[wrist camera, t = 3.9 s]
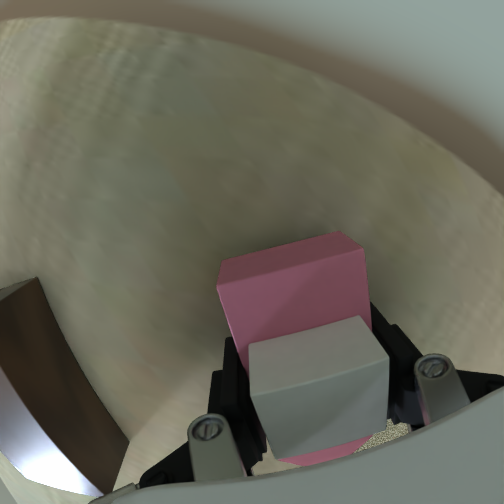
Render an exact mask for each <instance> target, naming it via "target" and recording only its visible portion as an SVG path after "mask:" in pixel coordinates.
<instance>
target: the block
mask: <svg viewBox="0 0 504 504" xmlns="http://www.w3.org/2000/svg"><path fill="white" fill-rule="evenodd" d="M128 445H129V441H128V439H127V438H126V437H125V435H124V434H123V433H122V431H121V430H120V429H119V427H118V426H117V425H116V423H115V422H114V420H113V419H112V418H111V416H110V415H109V413H108V412H107V410H106V409H105V407H104V406H103V404H102V403H101V401H100V400H99V398H98V397H97V395H96V394H95V392H94V390H93V389H92V387H91V386H90V384H89V382H88V381H87V379H86V377H85V376H84V374H83V372H82V370H81V369H80V367H79V365H78V363H77V362H76V360H75V358H74V356H73V354H72V352H71V351H70V349H69V347H68V345H67V343H66V341H65V339H64V337H63V335H62V333H61V331H60V329H59V327H58V325H57V323H56V320H55V318H54V316H53V314H52V312H51V310H50V307H49V305H48V303H47V300H46V298H45V296H44V293H43V291H42V288H41V286H40V283H39V281H38V278H37V277H35V278H32V279H29V280H26V281H23V282H20V283H17V284H15V285H12V286H9V287H6V288H3V289H0V451H1V452H2V453H3V454H4V456H5V457H6V458H7V459H8V460H9V461H10V462H11V463H12V464H13V465H14V466H15V467H16V468H17V469H18V470H19V471H20V472H21V473H22V474H23V475H24V476H25V477H26V478H27V479H30V480H33V481H36V482H39V483H42V484H45V485H49V486H52V487H56V488H60V489H63V490H67V491H71V492H76V493H80V494H85V495H90V496H95V497H101V496H103V495H106V494H108V493H110V492H112V491H113V488H114V485H115V482H116V479H117V476H118V473H119V471H120V468H121V465H122V462H123V459H124V456H125V453H126V451H127V448H128Z"/></svg>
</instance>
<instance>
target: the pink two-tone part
mask: <svg viewBox="0 0 504 504" xmlns="http://www.w3.org/2000/svg"><path fill="white" fill-rule="evenodd" d="M216 288H217V291H218V294H219V297H220V300H221V303H222V306H223V310H224V313H225V316H226V319H227V322H228V325H229V327H230V330H231V333H232V336H233V339H234V342H235V345H236V348H237V351H238V354H239V357H240V359H241V362H242V365H243V367H244V368H245V371H246V373H247V376H248V379H249V382H250V397H251V399H252V402H253V404H254V407H255V410H256V412H257V415H258V417H259V420H260V422H261V425H262V428H263V430H264V433H265V435H266V438H267V440H268V442H269V445H270V447H271V450H272V452H273V455H274V457H275V459H276V460H280V461H283V462H287V463H292V464H296V465H301V466H309V465H313V464H317V463H321V462H325V461H329V460H333V459H336V458H340V457H343V456H347V455H350V454H352V453H353V452H355V451H356V450H357V449H358V448H359V447H360V446H362V445H363V444H364V443H365V442H366V441H367V440H369V439H370V438H371V437H372V436H373V434H375V433H378V432H381V431H384V430H385V429H386V424H387V410H388V392H389V356H388V355H387V353H386V352H385V350H384V349H383V347H382V346H381V345H380V343H379V342H378V340H377V339H376V337H375V336H374V335H373V333H372V323H371V310H370V298H369V288H368V279H367V270H366V262H365V254H364V249H363V248H362V247H361V246H360V245H358V244H357V243H356V242H354V241H353V240H352V239H350V238H349V237H347V236H346V235H345V234H343V233H342V232H341V231H336V232H332V233H328V234H324V235H320V236H316V237H312V238H308V239H304V240H300V241H296V242H293V243H289V244H285V245H281V246H277V247H273V248H269V249H265V250H261V251H257V252H253V253H249V254H245V255H241V256H237V257H233V258H229V259H225V260H222V262H221V266H220V271H219V275H218V280H217V285H216Z"/></svg>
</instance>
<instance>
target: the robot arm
mask: <svg viewBox="0 0 504 504" xmlns="http://www.w3.org/2000/svg"><path fill="white" fill-rule="evenodd" d="M370 310H371V323H372V333H373V335H374V336H375V337H376V339H377V340H378V342H379V343H380V345H381V346H382V347H383V349H384V350H385V352H386V353H387V355H388V356H389V392H388V410H387V419H390V418H391V420H392V422H393V424H394V425H395V424H398V423H400V422H402V423H406V424H407V427H408V432H409V433H408V434H406V435H404V436H401V437H399V438H396V439H393V440H391V441H388V442H386V443H383V444H380V445H377V446H374V447H372V448H369V449H366V450H363V451H360V452H356V453H353V454H350V455H347V456H343V457H340V458H336V459H333V460H329V461H325V462H321V463H317V464H313V465H309V466H305V467H300V468H295V469H291V470H286V471H280V472H275V473H269V474H263V475H256V476H255V475H254V472H253V469H252V467H253V466H254V465H255V464H256V463H257V462H258V461H263V457H262V453H266V452H267V445H266V435H265V433H264V430H263V428H262V425H261V422H260V420H259V417H258V415H257V412H256V410H255V407H254V404H253V402H252V399H251V397H250V382H249V379H248V376H247V373H246V371H245V368H244V367H243V365H242V362H241V359H240V357H239V354H238V351H237V348H236V345H235V342H234V339H233V336H232V337H227V338H226V339H225V348H224V360H223V370H218V371H213V373H212V379H211V387H210V395H209V403H208V411H207V414H205V415H202V416H200V417H198V418H196V419H195V420H193V422H192V423H191V424H190V425H189V427H188V430H187V436H188V441H187V442H186V443H185V444H183V445H182V446H181V447H179V448H178V449H177V450H175V451H174V452H172V453H171V454H170V455H168V456H167V457H165V458H164V459H163V460H161V461H160V462H158V463H157V464H156V465H154V466H153V467H151V468H150V469H148V470H147V471H146V472H145V473H144V474H143V475H142V476H141V478H140V481H139V483H138V484H136V485H135V484H134V483H130V484H128V485H126V486H124V487H122V488H120V489H117V490H115V491H113V492H110V493H108V494H106V495H103V496H101V497H99V498H96V499H94V500H92V501H91V502H89V503H88V504H504V376H502V375H497V374H488V373H479V372H470V371H462V370H455V367H454V365H453V363H452V361H451V360H450V359H449V358H448V357H446V356H445V355H442V354H436V353H433V354H427V355H425V356H423V355H422V354H421V353H420V351H419V350H418V349H417V348H416V347H415V345H414V344H413V343H412V342H411V341H410V339H409V338H408V337H407V336H406V335H405V334H404V332H403V331H402V330H401V329H400V328H399V327H398V326H397V325H396V324H393V325H390V324H389V323H388V322H387V320H386V319H385V318H384V317H383V316H382V314H381V313H380V312H379V311H378V310H377V309H376V307H375V306H374V305H373V304H372V303H371V302H370Z"/></svg>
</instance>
